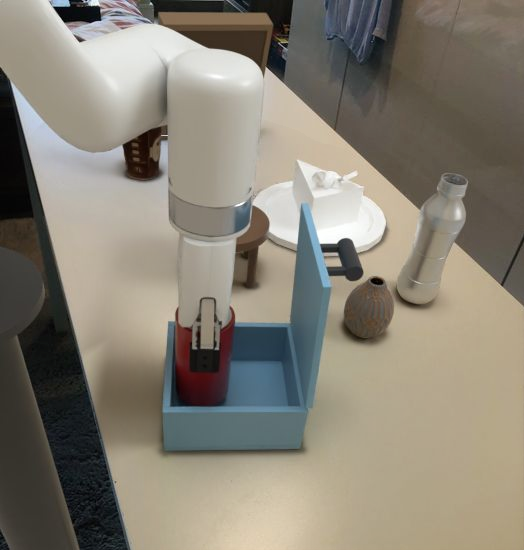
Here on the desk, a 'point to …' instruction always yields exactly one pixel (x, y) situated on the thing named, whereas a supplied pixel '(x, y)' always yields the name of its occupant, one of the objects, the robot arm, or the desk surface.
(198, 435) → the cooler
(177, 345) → the can
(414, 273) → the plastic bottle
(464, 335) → the desk surface
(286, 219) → the dish
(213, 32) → the photo frame
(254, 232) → the stool
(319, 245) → the lid
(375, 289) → the vase
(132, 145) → the coffee cup
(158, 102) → the robot arm
